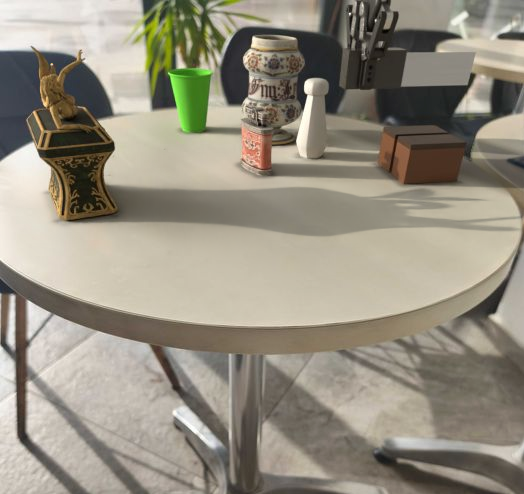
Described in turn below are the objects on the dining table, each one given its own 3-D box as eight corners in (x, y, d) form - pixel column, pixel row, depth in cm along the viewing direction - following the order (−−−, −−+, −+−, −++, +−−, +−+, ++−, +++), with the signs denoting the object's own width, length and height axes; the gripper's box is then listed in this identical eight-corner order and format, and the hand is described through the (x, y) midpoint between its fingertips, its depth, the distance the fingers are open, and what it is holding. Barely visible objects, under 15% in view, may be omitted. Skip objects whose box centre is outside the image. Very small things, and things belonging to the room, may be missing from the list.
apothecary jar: (311, 140, 103) (320, 38, 92) (269, 150, 96) (272, 42, 85) (272, 127, 110) (275, 31, 98) (229, 136, 103) (228, 35, 92)
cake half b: (426, 160, 94) (434, 124, 90) (439, 169, 90) (448, 132, 86) (377, 163, 92) (383, 126, 88) (388, 172, 88) (395, 134, 84)
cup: (189, 137, 102) (185, 77, 95) (164, 128, 107) (159, 70, 100) (223, 130, 107) (221, 73, 100) (198, 121, 112) (195, 66, 105)
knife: (462, 83, 79) (471, 47, 76) (471, 86, 77) (481, 49, 74) (338, 86, 75) (342, 47, 72) (344, 89, 73) (349, 50, 70)
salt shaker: (290, 152, 96) (294, 76, 88) (315, 149, 98) (321, 75, 90) (305, 161, 92) (311, 83, 83) (331, 157, 94) (339, 81, 86)
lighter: (276, 173, 86) (278, 111, 80) (259, 176, 84) (260, 113, 78) (252, 160, 91) (253, 101, 85) (236, 163, 90) (236, 103, 84)
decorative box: (128, 217, 70) (104, 57, 58) (57, 228, 67) (15, 60, 54) (100, 172, 84) (76, 36, 72) (40, 180, 81) (4, 38, 68)
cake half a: (442, 171, 89) (451, 134, 85) (456, 181, 85) (467, 142, 81) (390, 174, 87) (398, 136, 83) (403, 184, 83) (411, 144, 79)
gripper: (432, -62, 59) (403, 96, 70) (384, -60, 70) (366, 78, 81) (374, -65, 58) (354, 98, 69) (334, -61, 69) (322, 79, 79)
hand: (360, 86), depth 75 cm, fingers closed on knife, 2 cm apart
